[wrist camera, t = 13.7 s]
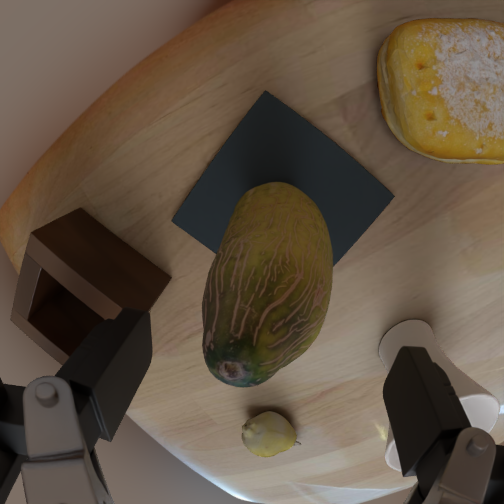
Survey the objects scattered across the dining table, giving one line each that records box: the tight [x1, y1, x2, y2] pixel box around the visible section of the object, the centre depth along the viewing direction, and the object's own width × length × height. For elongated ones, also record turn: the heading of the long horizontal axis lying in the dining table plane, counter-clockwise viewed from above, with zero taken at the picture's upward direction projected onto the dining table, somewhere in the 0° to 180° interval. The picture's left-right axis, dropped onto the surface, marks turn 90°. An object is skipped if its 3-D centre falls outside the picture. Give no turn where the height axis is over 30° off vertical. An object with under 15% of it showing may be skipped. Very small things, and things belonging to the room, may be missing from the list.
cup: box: [379, 319, 500, 472], centre depth 25 cm, size 10×10×14 cm
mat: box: [172, 90, 395, 266], centre depth 27 cm, size 14×14×1 cm
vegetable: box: [202, 182, 333, 387], centre depth 18 cm, size 6×6×20 cm
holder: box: [11, 208, 172, 365], centre depth 29 cm, size 12×12×8 cm
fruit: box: [242, 411, 301, 457], centre depth 35 cm, size 6×6×10 cm
